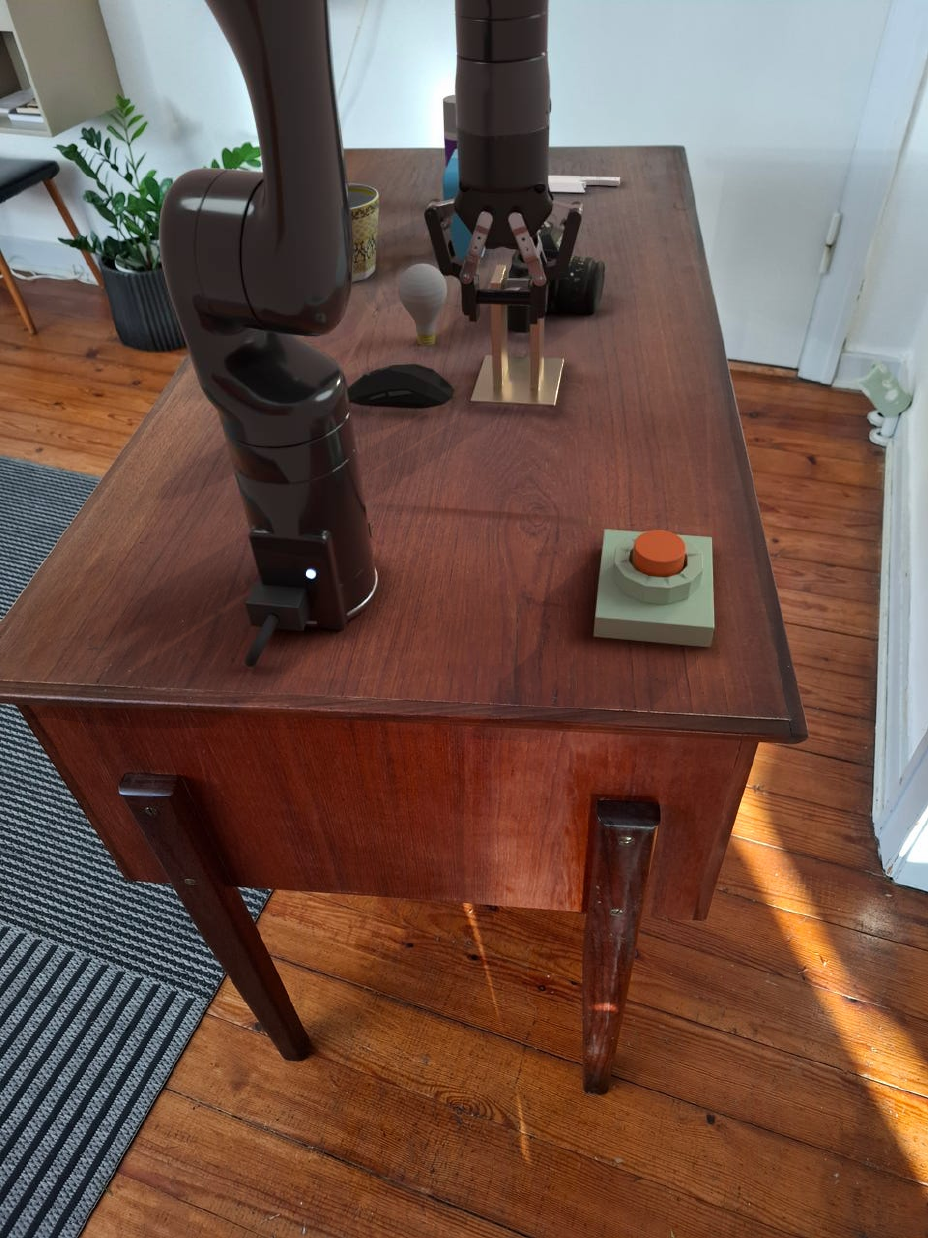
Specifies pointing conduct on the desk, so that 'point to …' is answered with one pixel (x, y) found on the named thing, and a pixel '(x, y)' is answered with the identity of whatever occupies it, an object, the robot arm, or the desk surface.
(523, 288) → the lever
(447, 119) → the container
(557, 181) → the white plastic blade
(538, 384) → the bracket
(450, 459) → the desk surface
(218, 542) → the desk surface
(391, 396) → the gaming mouse
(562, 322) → the desk surface
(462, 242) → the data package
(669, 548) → the button
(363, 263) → the ceramic cup
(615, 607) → the button block
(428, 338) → the light bulb
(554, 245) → the film camera
